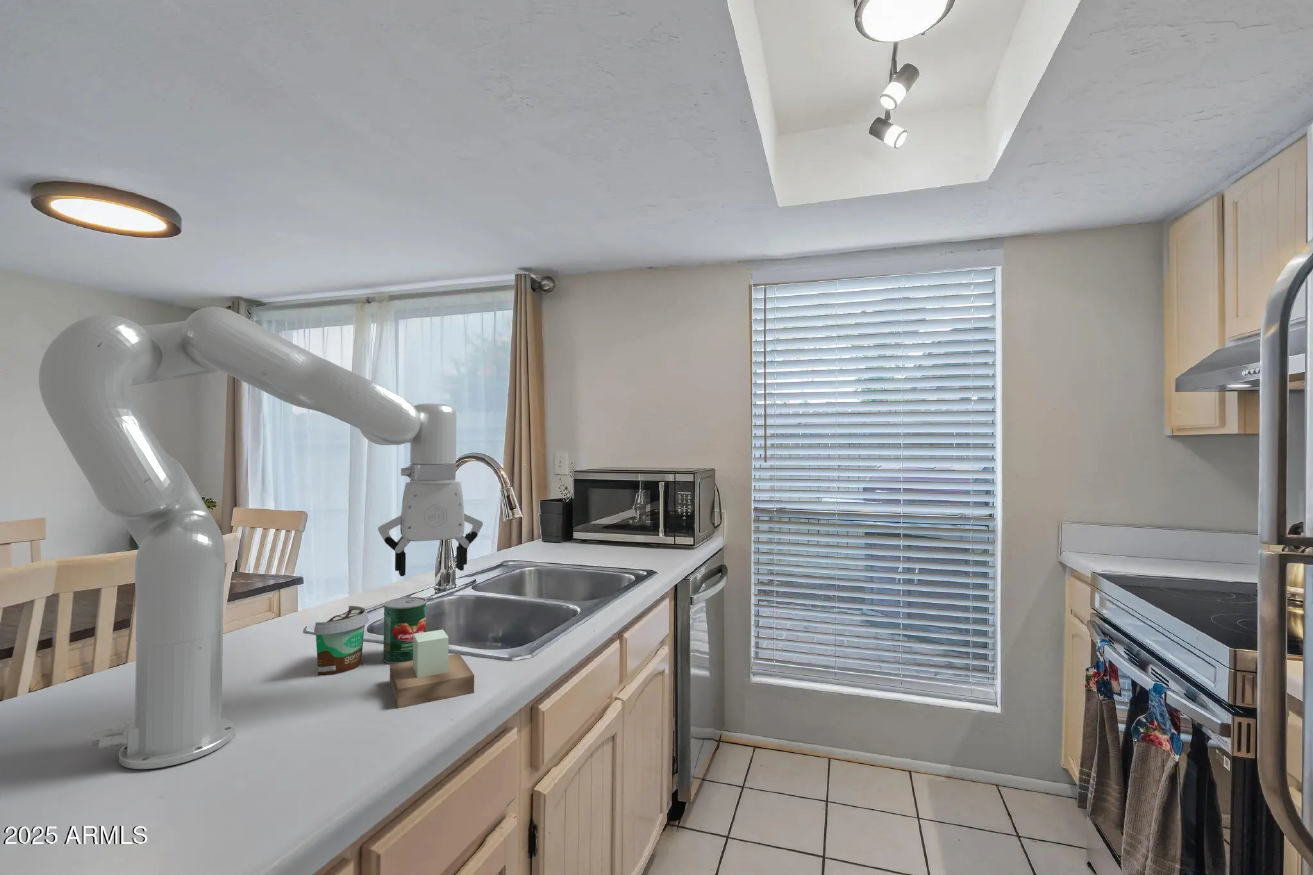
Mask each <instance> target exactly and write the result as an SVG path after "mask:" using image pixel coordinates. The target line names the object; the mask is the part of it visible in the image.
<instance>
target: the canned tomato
mask: <svg viewBox="0 0 1313 875" xmlns="http://www.w3.org/2000/svg"><path fill="white" fill-rule="evenodd" d="M423 632H427V599H426V598H425V597H423V596H421V597H419V596H404V597H397V598H393V599H390V600H386V601H385V602H384V603H383V650H382V651H383V652H382V653H383V657H382V660H383V662H384V663H386V664H389V665H393V664H399V663H405V662H411V661H413V634H416V633H423Z"/></svg>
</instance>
